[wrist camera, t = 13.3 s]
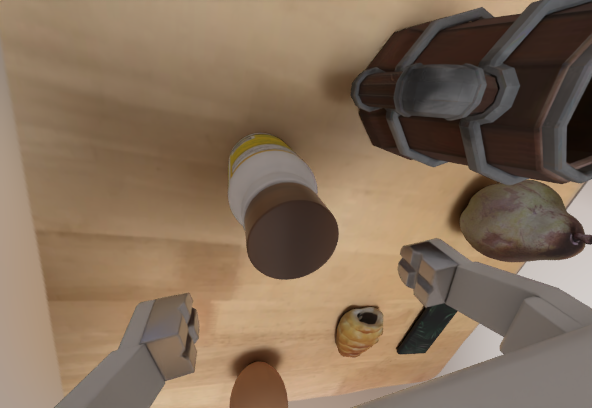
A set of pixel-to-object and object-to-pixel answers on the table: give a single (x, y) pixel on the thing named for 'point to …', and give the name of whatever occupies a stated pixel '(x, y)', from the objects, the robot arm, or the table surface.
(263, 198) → the brown bottle cap
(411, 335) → the smartphone
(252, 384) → the egg
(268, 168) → the pill bottle
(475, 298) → the robot arm
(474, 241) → the fruit
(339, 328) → the pastry
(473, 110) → the mug
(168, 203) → the table surface
